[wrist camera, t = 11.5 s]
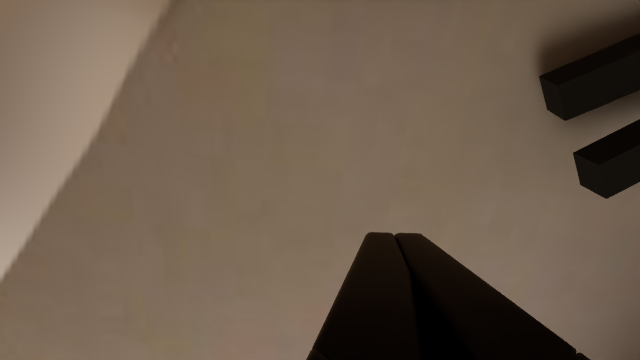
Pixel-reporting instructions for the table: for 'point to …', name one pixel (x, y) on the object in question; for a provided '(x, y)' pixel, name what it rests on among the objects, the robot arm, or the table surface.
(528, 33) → the table surface
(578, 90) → the toy
